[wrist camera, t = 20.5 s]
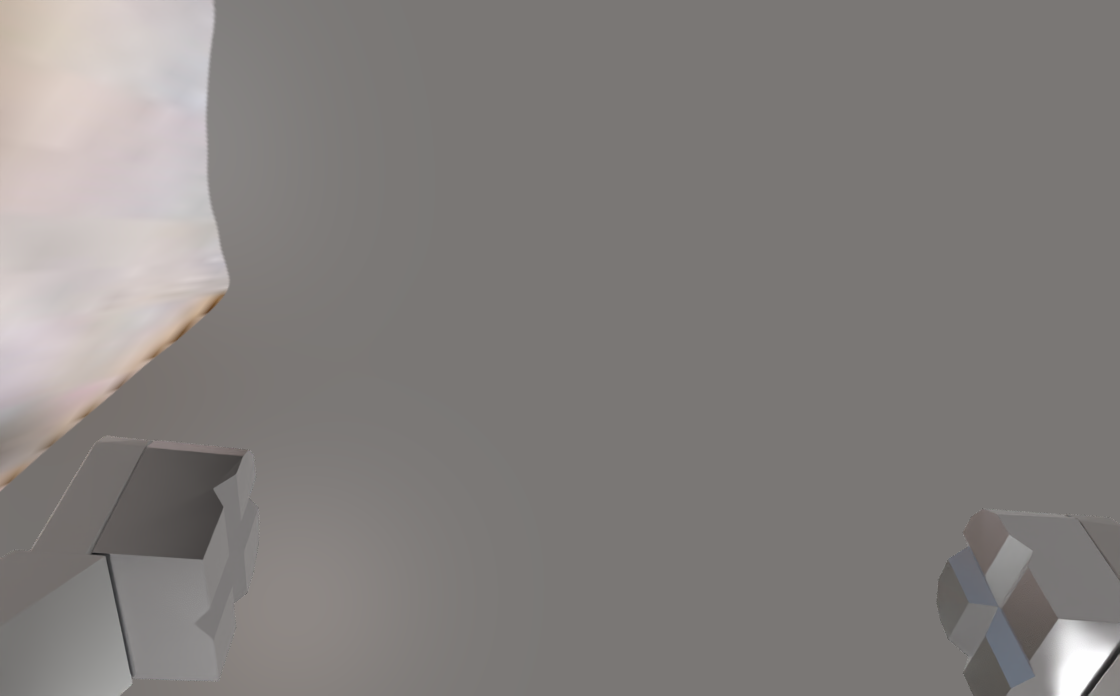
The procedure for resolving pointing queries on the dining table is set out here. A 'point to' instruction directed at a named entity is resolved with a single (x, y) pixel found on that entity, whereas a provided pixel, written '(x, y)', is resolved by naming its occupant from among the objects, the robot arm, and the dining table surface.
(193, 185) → the dining table surface
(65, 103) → the dining table surface
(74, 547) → the robot arm
